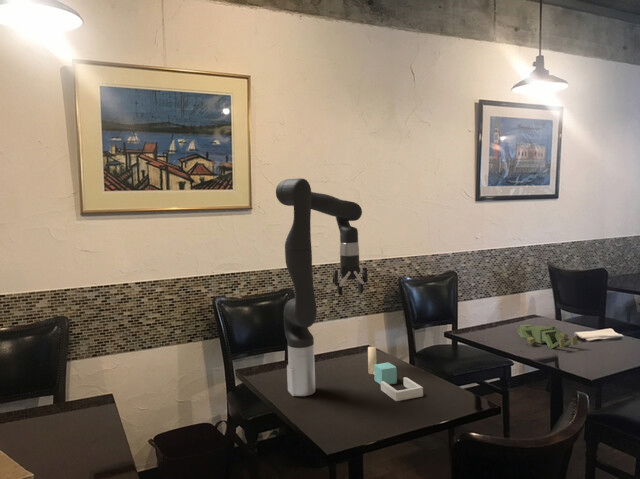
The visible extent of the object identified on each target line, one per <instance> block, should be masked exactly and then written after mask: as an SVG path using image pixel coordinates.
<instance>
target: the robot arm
mask: <svg viewBox="0 0 640 479" xmlns="http://www.w3.org/2000/svg"><path fill="white" fill-rule="evenodd" d="M275 196H276V198H277V201H278V202H279V203H280V204H282V205H283V206H289V207H293V222H292V225H291V227H290V229H289V233H288V234H287V236H286V239H285V243H284V255H285V256H284V257H285V258H284V260H285V266H286V269H287V272H288V274H289V277H290V279H291V281H292V284H293V288H294V297H293V298H291V299H289V300H288V301H286V303H285V305H284V308H283V324H284V325H283V326H284V334H285V338H286V340H287V359H288V360H287V361H288V364H286V377H287V378H286V379H287V391H288V393H289V394H290V395H291V396H292V397H307V396H310V395H313V394H314V393H315V392H316V373H315V372H316V371H315V368H316V366H315V342H314V336H313V334H312V333H311V332H310V330H309V328H310V327H311V326H313V325H314V323H315V322H316V320H317V316H318V315H317V314H318V311H317V310H318V309H317V302H316V296H315V289H314V274H313V256H312V255H313V254H312V253H313V252H312V251H313V250H312V249H313V248H312V239H311V238H312V236H311V235H312V234H311V229H312V228H311V216H312V210H313V211H316V212H319V213H322V214H325V215H326V216H327V215H328V216H331V217H335V220H336V223H337V226H338V227H337V228H338V230H339V241H340V242H339V243H340V244H339V260H340V262H339V264H340V268H339V269H332V285H335V286H337V291H336V292H337V295H338V296H340V297H343V285H344V283H345V282H346V281H350V280H356V281H357V282H358V284H357V285H358V286H357V287H358V288H357V289H358V294H359V295H361V294H363V293H364V285H365V283H368V282H369V277H368V276H369V275H368V268H367V267H366V266H362V267H360V246H359V230H358V228H357V227H354V226H352V225H351V224H350V222H356V221H358V220H359V219H360V218H361V217H362V216H363V215H362V214H363V209H362V208H361V206H360V205H359V203H357V202H354V201H349V200H345V199H341V198H338V197H335V196H332V195H331V194H327V193H321V192H320V193H319V192H313V191H312V188H311V185H310V182H309V181H308V180H307V179H305V178H302V177H300V178H287V179H284V180H282V181H280V182H279V183H278V184H277V186H276V188H275ZM360 273H361V275H360ZM339 275H340V277H339ZM361 276H362V277H361Z"/></svg>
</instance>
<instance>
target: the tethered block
mask: <svg viewBox="0 0 640 479" xmlns="http://www.w3.org/2000/svg"><path fill="white" fill-rule="evenodd" d="M367 364H368V366H367V370H368V374H369V375H374V377H373V378H374V381H375V382H376V383H377V384H379V385H380V386H381V382H382V381H384V382H386V383H387V384H388V385H394V384H397V382H398V381H397V380H398V379H397V378H398V377H397V374H398V373H397V366H395V365H394V364H392V363H390V361H389V362H383V363H382V362H381V363H378V364H377V347H376V346H368V347H367Z"/></svg>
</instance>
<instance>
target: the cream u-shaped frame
mask: <svg viewBox="0 0 640 479" xmlns="http://www.w3.org/2000/svg"><path fill="white" fill-rule="evenodd" d="M403 387H405V389H400V390H397V389H395V387H393V386H392V385H391V384H389V385H388V384H387V383H386V382H384V381H382V382H381V385H380V391H381V392H383V393H385V395H387V396H388V397H389V398H391V399H393V401H395V402H400V401H406V400H410V399H416V398H420V397H424V387H423V386H421V385H420V384H418V383H416V382H415V381H413V380H412V379H410V378H408V377H407V376H406V377H403Z"/></svg>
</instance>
